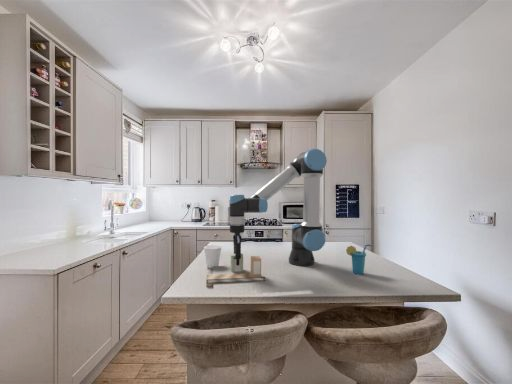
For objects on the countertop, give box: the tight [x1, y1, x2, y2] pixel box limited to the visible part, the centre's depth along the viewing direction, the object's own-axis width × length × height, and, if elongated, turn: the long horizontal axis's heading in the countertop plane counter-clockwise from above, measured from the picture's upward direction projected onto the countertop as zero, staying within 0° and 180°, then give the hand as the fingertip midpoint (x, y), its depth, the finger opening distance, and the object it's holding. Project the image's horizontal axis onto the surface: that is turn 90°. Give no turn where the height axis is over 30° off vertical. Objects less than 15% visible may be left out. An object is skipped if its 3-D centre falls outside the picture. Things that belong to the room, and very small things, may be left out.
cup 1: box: [203, 244, 223, 269], centre depth 145 cm, size 10×10×11 cm
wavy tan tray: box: [205, 272, 266, 287], centre depth 123 cm, size 26×12×3 cm, turn 100°
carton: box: [230, 252, 244, 273], centre depth 135 cm, size 4×6×9 cm, turn 100°
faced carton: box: [250, 255, 262, 277], centre depth 125 cm, size 4×6×9 cm, turn 10°
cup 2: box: [345, 243, 374, 276], centre depth 136 cm, size 14×8×15 cm, turn 98°
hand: (237, 269), depth 135 cm, fingers closed on carton, 4 cm apart
